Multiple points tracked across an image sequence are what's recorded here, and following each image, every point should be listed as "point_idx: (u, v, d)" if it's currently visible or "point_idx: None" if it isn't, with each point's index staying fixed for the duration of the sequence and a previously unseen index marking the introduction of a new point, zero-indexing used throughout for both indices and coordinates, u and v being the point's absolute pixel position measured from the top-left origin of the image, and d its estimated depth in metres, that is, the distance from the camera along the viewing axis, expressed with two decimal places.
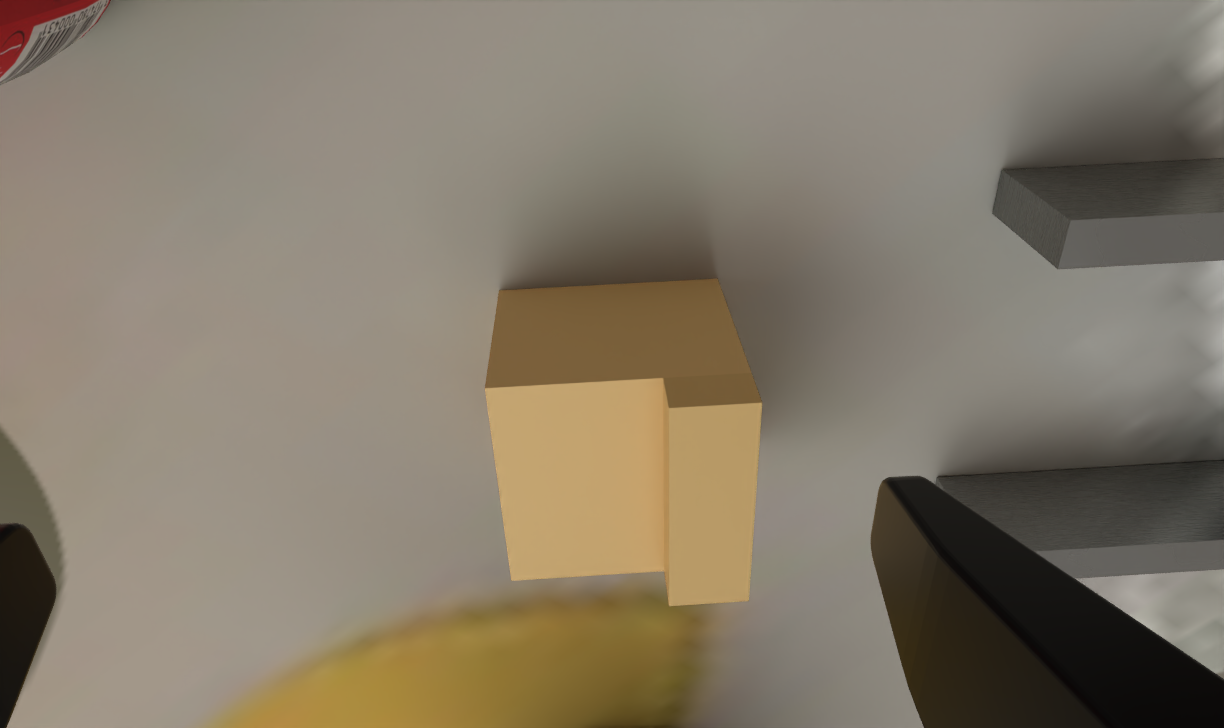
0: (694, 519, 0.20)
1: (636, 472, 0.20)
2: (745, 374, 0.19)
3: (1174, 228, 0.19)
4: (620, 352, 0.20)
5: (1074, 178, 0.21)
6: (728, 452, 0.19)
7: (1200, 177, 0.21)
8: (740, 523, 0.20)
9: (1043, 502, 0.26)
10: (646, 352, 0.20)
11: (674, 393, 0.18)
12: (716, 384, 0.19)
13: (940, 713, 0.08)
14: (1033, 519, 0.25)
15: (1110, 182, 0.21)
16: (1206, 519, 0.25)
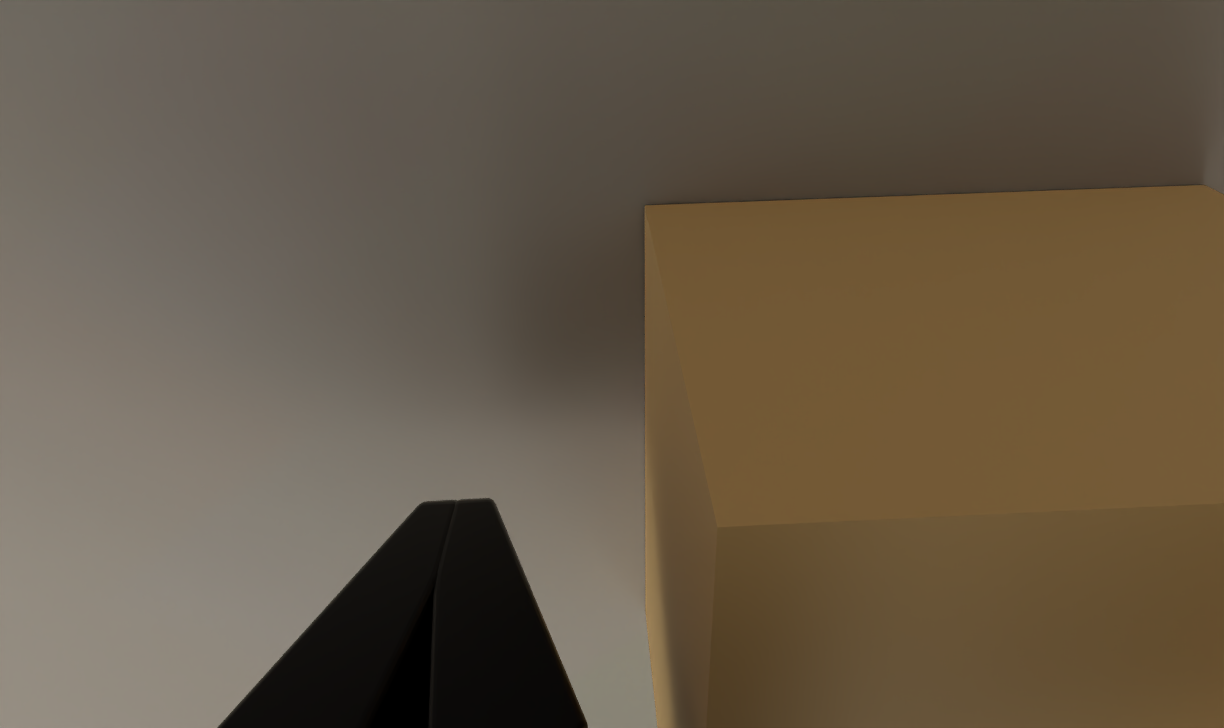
0: None
1: None
2: None
3: None
4: (1145, 381, 0.06)
5: None
6: None
7: None
8: None
9: None
10: None
11: None
12: None
13: None
14: None
15: None
16: None
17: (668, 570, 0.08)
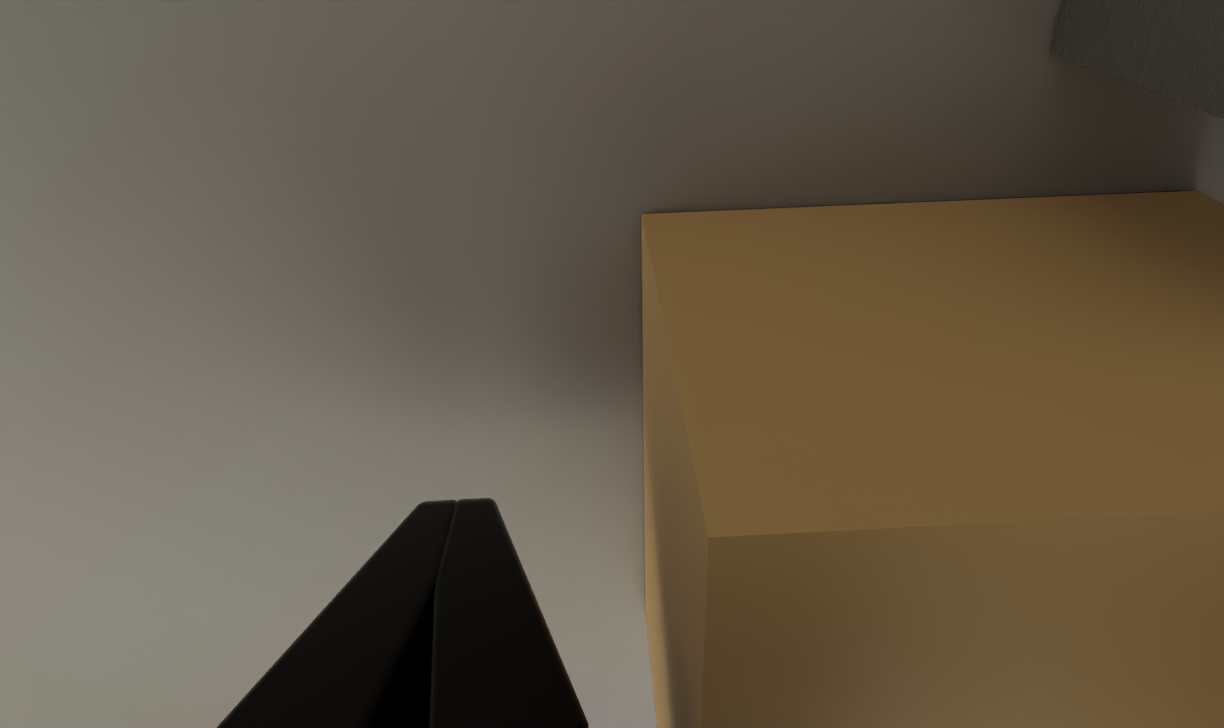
0: None
1: None
2: None
3: None
4: (1132, 390, 0.06)
5: None
6: None
7: None
8: None
9: None
10: None
11: None
12: None
13: None
14: None
15: None
16: None
17: (665, 576, 0.08)
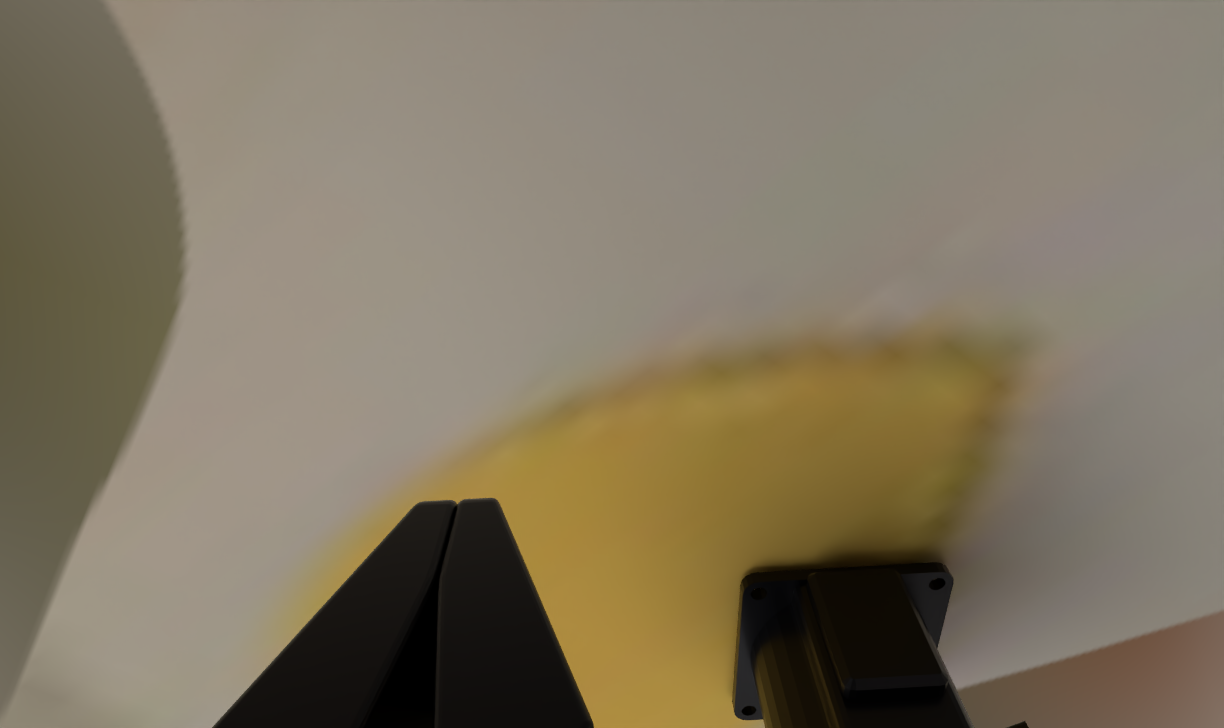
0: None
1: None
2: None
3: None
4: None
5: None
6: None
7: None
8: None
9: None
10: None
11: None
12: None
13: None
14: None
15: None
16: None
17: None
